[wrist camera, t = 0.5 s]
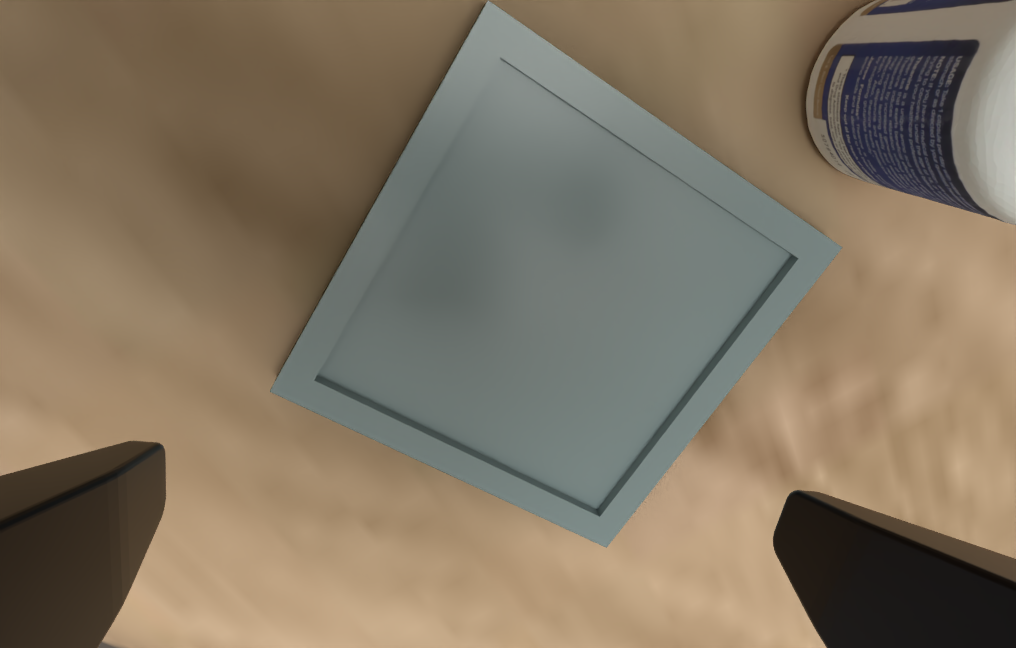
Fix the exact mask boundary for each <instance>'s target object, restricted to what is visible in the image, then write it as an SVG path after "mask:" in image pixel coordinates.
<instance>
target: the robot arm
mask: <svg viewBox="0 0 1016 648" xmlns="http://www.w3.org/2000/svg"><path fill="white" fill-rule="evenodd" d="M165 500H166V462H165V449H164V447H163V445H161V444H160V443H157V442H143V441H127V442H124V443H120V444H116V445H113V446H109V447H105V448H102V449H98V450H94V451H91V452H87V453H83V454H80V455H76V456H72V457H69V458H65V459H61V460H57V461H54V462H50V463H46V464H43V465H39V466H35V467H32V468H28V469H24V470H21V471H17V472H13V473H10V474H6V475H2V476H0V648H98V647H99V645H100V643H101V642H102V640H103V638H104V637H105V635H106V633H107V632H108V630H109V628H110V627H111V625H112V623H113V622H114V620H115V618H116V616H117V615H118V613H119V611H120V609H121V608H122V606H123V604H124V602H125V599H126V597H127V595H128V593H129V591H130V589H131V586H132V584H133V582H134V580H135V577H136V575H137V573H138V570H139V568H140V566H141V564H142V561H143V559H144V557H145V554H146V552H147V550H148V548H149V545H150V543H151V541H152V538H153V536H154V534H155V532H156V529H157V527H158V525H159V522H160V520H161V518H162V515H163V511H164V507H165ZM773 546H774V550H775V553H776V555H777V557H778V559H779V561H780V563H781V565H782V567H783V569H784V571H785V573H786V574H787V576H788V578H789V580H790V582H791V584H792V586H793V588H794V590H795V592H796V594H797V596H798V598H799V599H800V601H801V603H802V605H803V607H804V609H805V611H806V613H807V615H808V617H809V619H810V620H811V622H812V624H813V626H814V628H815V629H816V631H817V633H818V634H819V636H820V638H821V639H822V641H823V642H824V644H825V646H826V647H827V648H1016V559H1014V558H1011V557H1008V556H1005V555H1002V554H999V553H997V552H994V551H991V550H988V549H985V548H982V547H979V546H976V545H973V544H970V543H967V542H964V541H961V540H958V539H955V538H952V537H949V536H946V535H944V534H941V533H938V532H935V531H932V530H929V529H926V528H923V527H920V526H917V525H914V524H911V523H908V522H905V521H902V520H899V519H896V518H894V517H891V516H888V515H885V514H882V513H879V512H876V511H873V510H870V509H867V508H864V507H861V506H858V505H855V504H852V503H849V502H846V501H844V500H841V499H838V498H835V497H832V496H829V495H826V494H823V493H820V492H814V491H802V490H796V491H793V492H792V493H790V494H789V496H788V497H787V499H786V502H785V505H784V507H783V510H782V513H781V515H780V518H779V521H778V523H777V526H776V529H775V531H774V536H773Z"/></svg>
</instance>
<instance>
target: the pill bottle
mask: <svg viewBox="0 0 1016 648" xmlns="http://www.w3.org/2000/svg"><path fill="white" fill-rule="evenodd" d="M806 113H807V120H808V127H809V131H810V133H811V136H812V138H813V140H814V143H815V144H816V146H817V148H818V149H819V151H820V152H821V154H822V155H823V157H824V158H825V159H826V160H827V161H828V162H829V163H830V164H831V165H832V166H833V167H835V168H836V169H837V170H839V171H841V172H842V173H844V174H846V175H849V176H851V177H854V178H857V179H859V180H862V181H865V182H868V183H872V184H875V185H879V186H883V187H886V188H890V189H894V190H897V191H901V192H904V193H907V194H911V195H915V196H918V197H922V198H926V199H929V200H932V201H936V202H939V203H943V204H946V205H950V206H953V207H957V208H960V209H964V210H967V211H970V212H974V213H978V214H981V215H984V216H988V217H991V218H995V219H998V220H1000V221H1003V222H1006V223H1010V224H1014V225H1016V0H875V1H873V2H871V3H869V4H868V5H866V6H864V7H862V8H860V9H859V10H857V11H856V12H855V13H854V14H852V15H851V16H850V17H849V18H848V19H847V20H846V21H845V22H844V23H843V24H842V25H841V26H840V27H839V28H838V29H837V31H836V32H835V33H834V34H833V35H832V37H831V38H830V39H829V40H828V42H827V43H826V45H825V47H824V48H823V50H822V52H821V53H820V55H819V57H818V59H817V61H816V63H815V66H814V68H813V71H812V73H811V77H810V82H809V86H808V90H807V98H806Z"/></svg>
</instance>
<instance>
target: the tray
mask: <svg viewBox="0 0 1016 648" xmlns="http://www.w3.org/2000/svg"><path fill="white" fill-rule="evenodd" d="M841 249H842V247H841V246H839V245H838V244H837V243H835V242H834V241H832V240H831V239H829V238H828V237H827V236H825V235H824V234H822V233H821V232H819V231H818V230H816V229H815V228H814V227H812V226H811V225H809V224H808V223H806V222H805V221H804V220H802V219H801V218H799V217H798V216H796V215H795V214H794V213H792V212H791V211H789V210H788V209H786V208H785V207H784V206H782V205H781V204H779V203H778V202H776V201H775V200H774V199H772V198H771V197H769V196H768V195H766V194H765V193H763V192H762V191H761V190H759V189H758V188H756V187H755V186H753V185H752V184H751V183H749V182H748V181H746V180H745V179H743V178H742V177H741V176H739V175H738V174H736V173H735V172H733V171H732V170H731V169H729V168H728V167H726V166H725V165H723V164H722V163H721V162H719V161H718V160H716V159H715V158H713V157H712V156H711V155H709V154H708V153H706V152H705V151H703V150H702V149H700V148H699V147H698V146H696V145H695V144H693V143H692V142H690V141H689V140H688V139H686V138H685V137H683V136H682V135H680V134H679V133H678V132H676V131H675V130H673V129H672V128H670V127H669V126H668V125H666V124H665V123H663V122H662V121H660V120H659V119H658V118H656V117H655V116H653V115H652V114H650V113H649V112H647V111H646V110H645V109H643V108H642V107H640V106H639V105H637V104H636V103H635V102H633V101H632V100H630V99H629V98H627V97H626V96H625V95H623V94H622V93H620V92H619V91H617V90H616V89H615V88H613V87H612V86H610V85H609V84H607V83H606V82H605V81H603V80H602V79H600V78H599V77H597V76H596V75H594V74H593V73H592V72H590V71H589V70H587V69H586V68H584V67H583V66H582V65H580V64H579V63H577V62H576V61H574V60H573V59H572V58H570V57H569V56H567V55H566V54H564V53H563V52H562V51H560V50H559V49H557V48H556V47H554V46H553V45H552V44H550V43H549V42H547V41H546V40H544V39H543V38H541V37H540V36H539V35H537V34H536V33H534V32H533V31H531V30H530V29H529V28H527V27H526V26H524V25H523V24H521V23H520V22H519V21H517V20H516V19H514V18H513V17H511V16H510V15H509V14H507V13H506V12H504V11H503V10H501V9H500V8H499V7H497V6H496V5H494V4H493V3H491V2H490V1H489V0H488V1H487V2H486V3H485V5H484V7H483V9H482V10H481V12H480V14H479V16H478V17H477V19H476V21H475V23H474V25H473V26H472V28H471V30H470V32H469V34H468V35H467V37H466V39H465V41H464V43H463V44H462V46H461V48H460V50H459V52H458V53H457V55H456V57H455V59H454V60H453V62H452V64H451V66H450V68H449V69H448V71H447V73H446V75H445V77H444V78H443V80H442V82H441V84H440V86H439V87H438V89H437V91H436V93H435V95H434V96H433V98H432V100H431V102H430V103H429V105H428V107H427V109H426V111H425V112H424V114H423V116H422V118H421V120H420V121H419V123H418V125H417V127H416V129H415V130H414V132H413V134H412V136H411V138H410V139H409V141H408V143H407V145H406V147H405V148H404V150H403V152H402V154H401V155H400V157H399V159H398V161H397V163H396V164H395V166H394V168H393V170H392V172H391V173H390V175H389V177H388V179H387V181H386V182H385V184H384V186H383V188H382V190H381V191H380V193H379V195H378V197H377V198H376V200H375V202H374V204H373V206H372V207H371V209H370V211H369V213H368V215H367V216H366V218H365V220H364V222H363V224H362V225H361V227H360V229H359V231H358V233H357V234H356V236H355V238H354V240H353V242H352V243H351V245H350V247H349V249H348V250H347V252H346V254H345V256H344V258H343V259H342V261H341V263H340V265H339V267H338V268H337V270H336V272H335V274H334V276H333V277H332V279H331V281H330V283H329V285H328V286H327V288H326V290H325V292H324V293H323V295H322V297H321V299H320V301H319V302H318V304H317V306H316V308H315V310H314V311H313V313H312V315H311V317H310V319H309V320H308V322H307V324H306V326H305V328H304V329H303V331H302V333H301V335H300V337H299V338H298V340H297V342H296V344H295V345H294V347H293V349H292V351H291V353H290V354H289V356H288V358H287V360H286V362H285V363H284V365H283V367H282V369H281V371H280V372H279V374H278V376H277V378H276V380H275V382H274V384H273V386H272V388H271V390H270V392H272V393H274V394H276V395H278V396H280V397H282V398H285V399H287V400H289V401H291V402H293V403H295V404H298V405H300V406H302V407H304V408H306V409H308V410H311V411H313V412H315V413H317V414H319V415H321V416H323V417H326V418H328V419H330V420H332V421H334V422H336V423H339V424H341V425H343V426H345V427H347V428H349V429H352V430H354V431H356V432H358V433H360V434H362V435H364V436H367V437H369V438H371V439H373V440H375V441H377V442H380V443H382V444H384V445H386V446H388V447H390V448H393V449H395V450H397V451H399V452H401V453H403V454H405V455H408V456H410V457H412V458H414V459H416V460H418V461H421V462H423V463H425V464H427V465H429V466H431V467H434V468H436V469H438V470H440V471H442V472H444V473H446V474H449V475H451V476H453V477H455V478H457V479H459V480H462V481H464V482H466V483H468V484H470V485H472V486H475V487H477V488H479V489H481V490H483V491H485V492H487V493H490V494H492V495H494V496H496V497H498V498H500V499H503V500H505V501H507V502H509V503H511V504H513V505H516V506H518V507H520V508H522V509H524V510H526V511H528V512H531V513H533V514H535V515H537V516H539V517H541V518H544V519H546V520H548V521H550V522H552V523H554V524H557V525H559V526H561V527H563V528H565V529H567V530H569V531H572V532H574V533H576V534H578V535H580V536H582V537H585V538H587V539H589V540H591V541H593V542H595V543H598V544H600V545H602V546H604V547H606V548H607V546H608V545H609V544H610V543H611V541H612V540H613V539H614V538H615V536H616V535H617V534H618V532H619V531H620V530H621V529H622V527H623V526H624V525H625V524H626V522H627V521H628V520H629V518H630V517H631V516H632V515H633V513H634V512H635V511H636V510H637V508H638V507H639V506H640V504H641V503H642V502H643V501H644V499H645V498H646V497H647V496H648V494H649V493H650V492H651V490H652V489H653V488H654V487H655V485H656V484H657V483H658V482H659V480H660V479H661V478H662V476H663V475H664V474H665V473H666V471H667V470H668V469H669V468H670V466H671V465H672V464H673V462H674V461H675V460H676V459H677V457H678V456H679V455H680V454H681V452H682V451H683V450H684V448H685V447H686V446H687V445H688V443H689V442H690V441H691V440H692V438H693V437H694V436H695V434H696V433H697V432H698V431H699V429H700V428H701V427H702V426H703V424H704V423H705V422H706V420H707V419H708V418H709V417H710V415H711V414H712V413H713V412H714V410H715V409H716V408H717V406H718V405H719V404H720V403H721V401H722V400H723V399H724V398H725V396H726V395H727V394H728V392H729V391H730V390H731V389H732V387H733V386H734V385H735V384H736V382H737V381H738V380H739V378H740V377H741V376H742V375H743V373H744V372H745V371H746V370H747V368H748V367H749V366H750V364H751V363H752V362H753V361H754V359H755V358H756V357H757V356H758V354H759V353H760V352H761V350H762V349H763V348H764V347H765V345H766V344H767V343H768V342H769V340H770V339H771V338H772V336H773V335H774V334H775V333H776V331H777V330H778V329H779V328H780V326H781V325H782V324H783V322H784V321H785V320H786V319H787V317H788V316H789V315H790V314H791V312H792V311H793V310H794V308H795V307H796V306H797V305H798V303H799V302H800V301H801V300H802V298H803V297H804V296H805V294H806V293H807V292H808V291H809V289H810V288H811V287H812V286H813V284H814V283H815V282H816V280H817V279H818V278H819V277H820V275H821V274H822V273H823V272H824V270H825V269H826V268H827V266H828V265H829V264H830V263H831V261H832V260H833V259H834V258H835V256H836V255H837V254H838V252H839V251H840V250H841Z"/></svg>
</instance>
